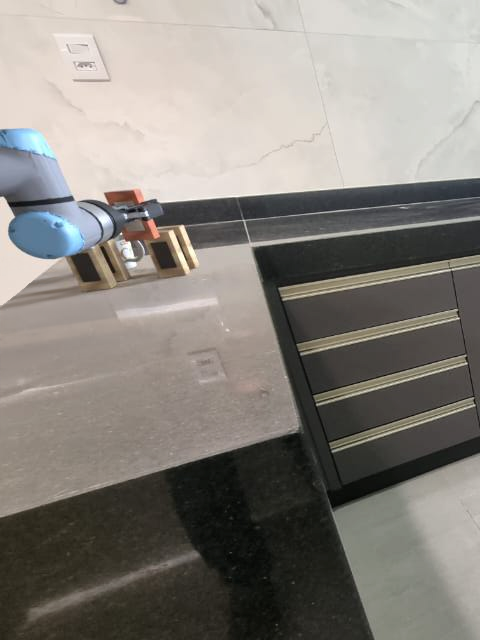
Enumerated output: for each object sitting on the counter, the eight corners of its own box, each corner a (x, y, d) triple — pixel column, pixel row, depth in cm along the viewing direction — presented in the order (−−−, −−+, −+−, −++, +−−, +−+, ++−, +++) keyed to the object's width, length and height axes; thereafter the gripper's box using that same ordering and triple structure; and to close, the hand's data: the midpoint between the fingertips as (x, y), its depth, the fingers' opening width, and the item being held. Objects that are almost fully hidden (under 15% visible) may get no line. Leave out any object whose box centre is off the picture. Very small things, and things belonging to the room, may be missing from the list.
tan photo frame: (82, 292, 113) (58, 245, 109) (104, 280, 121) (83, 236, 117) (111, 288, 114) (89, 242, 110) (131, 277, 123) (111, 234, 119)
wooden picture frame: (159, 278, 121) (140, 234, 117) (175, 268, 130) (157, 227, 125) (185, 275, 123) (167, 231, 118) (199, 265, 131) (183, 224, 127)
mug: (120, 264, 136) (102, 225, 131) (167, 263, 135) (150, 223, 131) (89, 273, 128) (68, 232, 124) (138, 271, 128) (119, 230, 123)
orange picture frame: (125, 242, 111) (102, 192, 107) (131, 239, 113) (110, 191, 109) (154, 239, 112) (133, 190, 108) (160, 236, 115) (139, 189, 111)
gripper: (33, 250, 94) (96, 229, 113) (157, 237, 100) (197, 219, 119) (10, 207, 91) (79, 192, 110) (139, 196, 97) (183, 185, 116)
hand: (140, 206), depth 115 cm, fingers closed on orange picture frame, 5 cm apart
